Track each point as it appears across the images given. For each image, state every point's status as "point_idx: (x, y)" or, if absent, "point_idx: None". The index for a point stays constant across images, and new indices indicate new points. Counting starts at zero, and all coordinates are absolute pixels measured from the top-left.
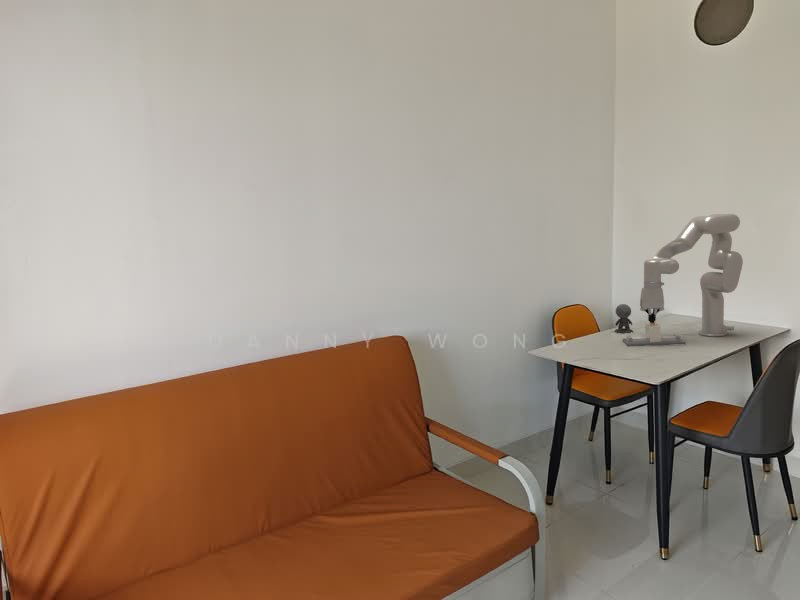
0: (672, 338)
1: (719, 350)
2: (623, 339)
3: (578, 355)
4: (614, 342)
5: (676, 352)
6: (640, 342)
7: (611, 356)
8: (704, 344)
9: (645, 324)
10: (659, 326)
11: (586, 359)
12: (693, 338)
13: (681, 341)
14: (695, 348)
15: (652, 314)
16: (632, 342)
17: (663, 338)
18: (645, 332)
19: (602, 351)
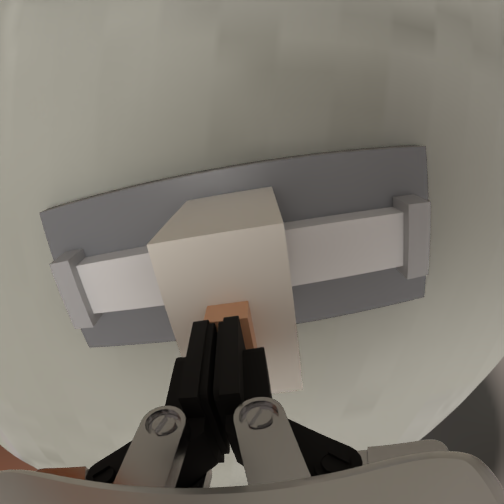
0: (375, 267)
1: (481, 367)
2: (46, 237)
3: (3, 427)
4: (18, 253)
5: (324, 426)
6: (153, 322)
7: (86, 456)
8: (489, 277)
9: (154, 261)
10: (293, 388)
11: (40, 461)
12: (489, 132)
13: (411, 283)
14: (426, 357)
15: (229, 424)
16: (107, 321)
17: (314, 279)
18: (174, 215)
19: (34, 405)
